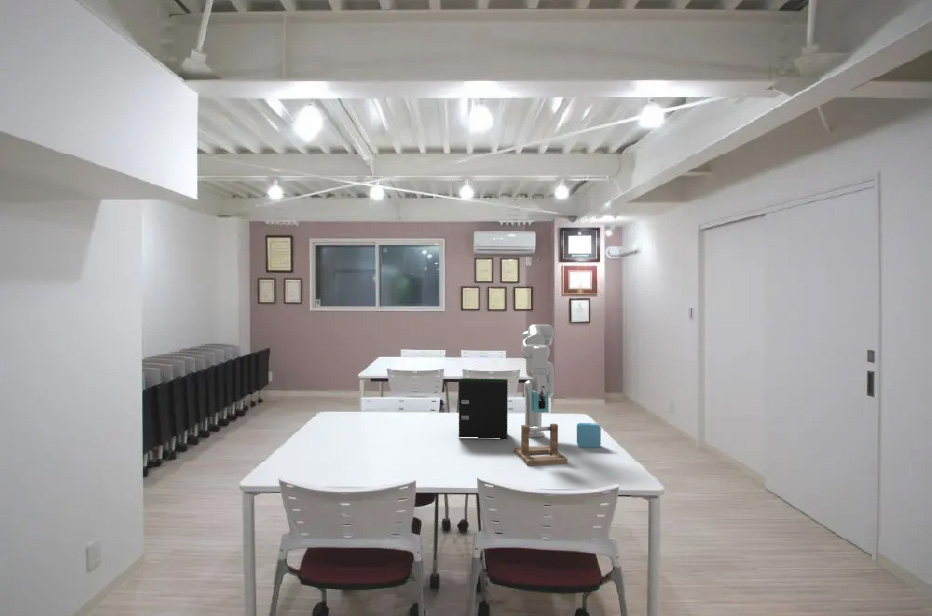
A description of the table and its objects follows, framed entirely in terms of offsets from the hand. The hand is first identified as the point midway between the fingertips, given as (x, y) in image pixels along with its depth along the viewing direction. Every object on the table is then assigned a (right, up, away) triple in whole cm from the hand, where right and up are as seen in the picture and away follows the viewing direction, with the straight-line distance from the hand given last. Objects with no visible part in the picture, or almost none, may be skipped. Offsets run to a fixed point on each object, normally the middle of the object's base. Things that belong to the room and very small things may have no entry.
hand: (539, 407), depth 267 cm
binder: (-27, -24, +40) cm, 54 cm away
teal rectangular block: (0, -2, 0) cm, 2 cm away
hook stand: (0, -25, +1) cm, 25 cm away
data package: (+29, -25, +20) cm, 43 cm away
